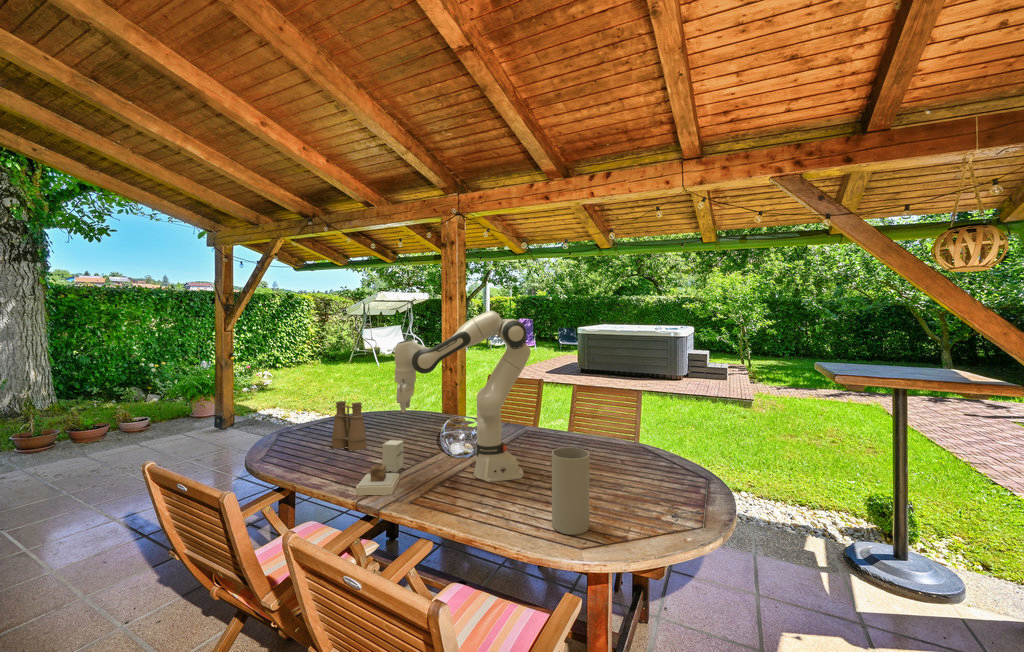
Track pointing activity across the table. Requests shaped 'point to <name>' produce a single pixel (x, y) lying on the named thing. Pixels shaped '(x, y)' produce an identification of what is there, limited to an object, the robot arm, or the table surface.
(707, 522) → the table surface
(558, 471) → the cylinder vase
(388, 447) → the supplement box
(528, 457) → the table surface
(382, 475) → the walnut block
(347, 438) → the binoculars
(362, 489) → the plinth
